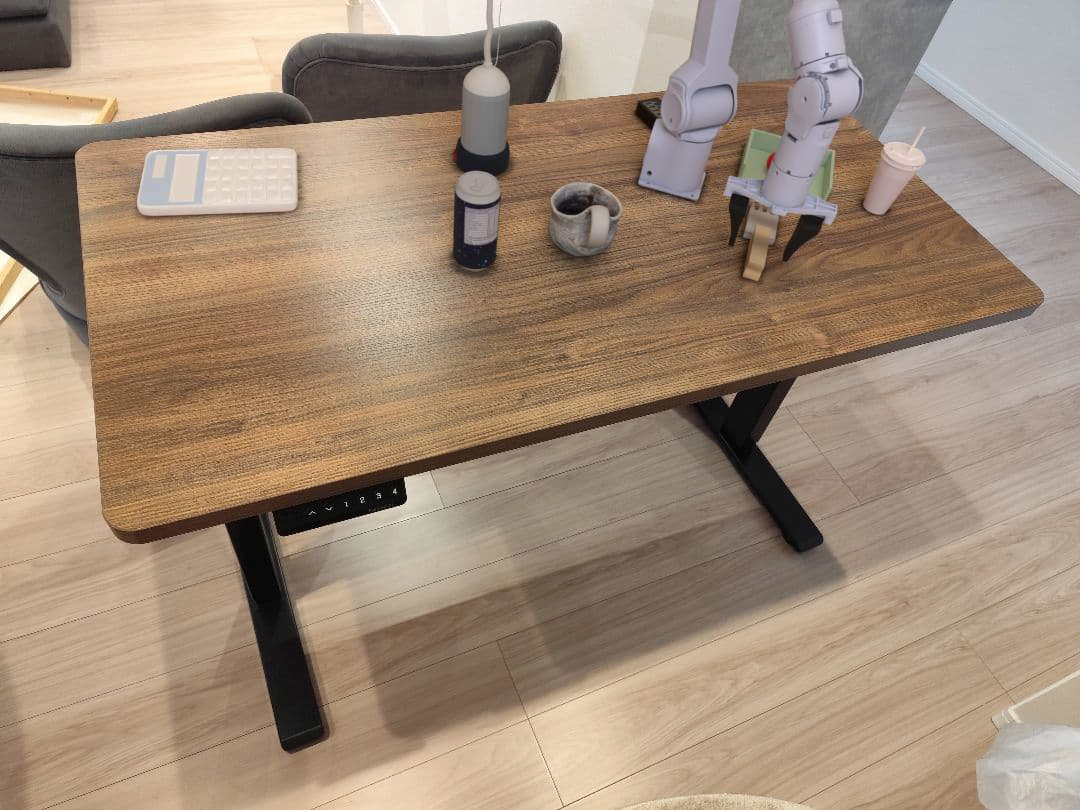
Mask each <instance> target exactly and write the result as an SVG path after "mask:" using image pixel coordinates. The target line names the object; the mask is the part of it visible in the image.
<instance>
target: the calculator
mask: <svg viewBox="0 0 1080 810" xmlns="http://www.w3.org/2000/svg"><path fill="white" fill-rule="evenodd" d="M143 163H144V164H143V169H142V175H141V178H140V184H139V188H138V193H137V198H136V207H137V210H138V212H139V213H140V214H141V215H143V216H147V217H163V216H165V217H166V216H168V217H169V216H193V215H196V216H197V215H223V214H253V213H254V214H255V213H257V214H258V213H278V212H279V213H281V212H282V213H283V212H284V213H285V212H292V211H294V210H296V209H297V207H298V203H299V188H298V187H299V185H298V183H299V182H298V181H299V179H298V178H299V177H298V175H299V174H298V154H297V152H296V150H295V149H293V148H291V147H256V148H254V147H252V148H250V147H249V148H199V149H197V148H195V149H193V148H192V149H191V148H190V149H189V148H188V149H183V148H182V149H154V150H150V151H148V152H147V154H146V155H145V158H144V162H143Z"/></svg>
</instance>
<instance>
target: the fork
mask: <svg viewBox="0 0 1080 810" xmlns="http://www.w3.org/2000/svg"><path fill="white" fill-rule="evenodd" d="M756 204H757V202H754V201H752V202H751V204H750V207H749V210H748V213H747V216H746V219H745V220H746V221H745V226H744V230H743V234H742V238H743V239H747V240H749V243H748V248H747V254H746V257H745V263H744V268H743V272H742V277H743V278H744V279H745V278H746V279H749V280H752V281H756V282H759V280H760V278H761V275H762V273H763V271H764V268H765V267H766V262H767V256H768V251H769V246H773V245H774V243H775V240H776V237H777V236H776V235H777V231H778V230H777V229H778V226H779V225H778V224H779V219H780V216H779V215H776V214H773V213H771V211H770V208H768V207H766V209H765V211H763V210H764V205H762V204H759V206H758V208H757V209H756Z"/></svg>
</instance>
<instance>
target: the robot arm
mask: <svg viewBox="0 0 1080 810" xmlns="http://www.w3.org/2000/svg"><path fill="white" fill-rule="evenodd" d="M741 4H742V0H698V2H697V8H696V14H695V21H694V27H693V32H692V39H691V45H690V50H689V56H688V58H687V59H686V60H685V61H684V62H683V63H681V65H680V66H678V68H676V69H675V70H674V71H673V72H672V73H671V74H670V75H669V79H668V84H667V88H666V91H665V92H664V94H663V96H662V98H661V100H662V102H661V118H662V119H656V121H655V124H654V127H653V130H652V129H651V133H650V137H649V140H648V144H647V147H646V151H645V153H644V155H643V158H642V161H641V165H642V167H641V171H640V174H639V175H640V176H639V179H638V181H637V184H638V185H639V186H641V187H645V188H649V189H651V190H655V191H659V192H662V193H667V194H670V195H673V196H676V197H681V198H684V199H688V200H692V201H695V202H696V201H699V198H700V195H701V191H702V189H703V185H704V182H705V178H706V175H707V173H706V167H707V164H708V162H709V159H710V155H711V152H712V149H713V146H714V143H715V140H716V137H717V135H718V134H721V133H722V130H723V127H724V126H726V125H728V124H730V123H731V122H732V121H733V120H734V118H735V116H736V114H737V109H738V84H739V79H740V78H739V77H740V76H739V75H738V73H737V72H736V71H735V70H734V69H733V68H732V67H731V66H730V64H729V63H730V59H731V53H732V47H733V44H734V38H735V33H736V29H737V23H738V19H739V13H740V9H741ZM843 20H844V19H843V12H842V9H840V3H839V2H838V0H793V5H792V7H791V9H790V11H789V13H788V14H787V17H786V19H785V24H786V30H787V36H788V43H789V48H790V54H791V59H792V66H793V71H794V80H795V84H794V85H790V86H789V87H788V92H787V99H786V100H787V103H786V104H787V115H786V118H785V120H784V124H785V125H784V130H783V133H782V135H781V136H782V138H781V140H780V143H779V145H778V148H777V150H776V153H775V155H774V157H773V160H772V162H771V165H770V167H769V170H768V172H767V175H766V177H765V180H761V179H748V178H738V176H733V175H729V176H728V178H727V181H726V184H725V187H724V189H723V194H722V196H723V197H726V198H730V199H729V203H728V214H729V219H730V236H729V240H728V245H727V246H729V247H732V248H734V246H735V243H736V242H737V238H738V235H739V231H740V229H741V228H740V227H741V225H742V224H743V221H744V219H745V218H746V215H747V211H748V206H749V204H750V201H752V202H754V203H759V205H763V207H766V208H767V207H768V208H770V211H771V212H770V214H776V215H778V216H779V217H786V216H787V214H794V215H800V216H799V219H798V221H797V223H796V226H795V228H794V231H793V233H792V235H791V236H790V238H789V240H788V241H787V243H786V245H785V247H784V250H783V253H782V259H781V260H782V262H785V263H787V262H788V261H789V260H790V259H791V257H792V256H793V255H794V254H795V253H796V252H797V251H798V250H799V249H800V248H801V247H802V246H804V244H806V243H807V242H809V241H810V240H811V239H814V238H815V237H817V236H818V235H819V234H820V232H821V231H822V227H823V224H825V225H829V226H831V225H832V224H833V222H834V220H835V218H836V216H837V214H838V204H835V203H832V202H829V201H827V200H826V201H824V200H822V199H820V198H818V197H816V196H814V195H812V194H810V193H808V191H809V189H810V186H811V184H812V182H813V180H814V178H815V176H816V174H817V172H818V170H819V167H820V165H821V163H822V161H823V159H824V157H825V155H826V152H827V150H828V149H830V146H831V143H832V142H833V139H834V138H835V135H836V133H837V131H838V129H839V127H840V124H841V122H842V120H841V119H844V118H847V117H849V116H852V115H853V114H854V113H855V112H856V111H857V110H858V109H859V107H860V105H861V104H862V101H863V97H864V77H863V75H862V73H861V71H860V70H859V69H858V68H857V67H856V66H854V64H853V61H852V58H850V56H848V55H847V48H846V43H845V36H844V29H843Z"/></svg>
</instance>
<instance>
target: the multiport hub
mask: <svg viewBox="0 0 1080 810" xmlns="http://www.w3.org/2000/svg"><path fill="white" fill-rule="evenodd" d="M661 102H662V98H660V97H657V96H656V97H650V98H644V99H640V100H637V104H636V107H635V112H634V115H635V116H636V117H638V118H639V119H640V121H642V123H644V124H645V125H646V126H647V127H648V128H649V129H650V130H651V131H652V130H653V127H654V124H655V121H656V119H662V118H661Z"/></svg>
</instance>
